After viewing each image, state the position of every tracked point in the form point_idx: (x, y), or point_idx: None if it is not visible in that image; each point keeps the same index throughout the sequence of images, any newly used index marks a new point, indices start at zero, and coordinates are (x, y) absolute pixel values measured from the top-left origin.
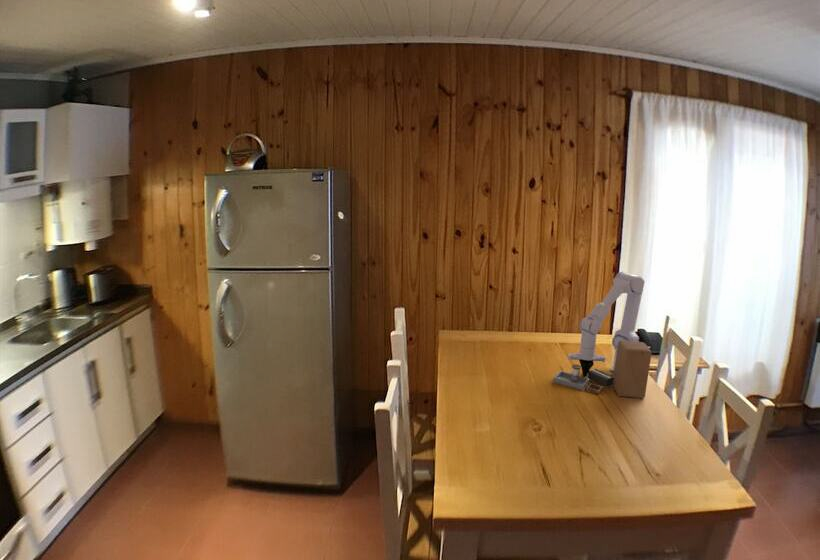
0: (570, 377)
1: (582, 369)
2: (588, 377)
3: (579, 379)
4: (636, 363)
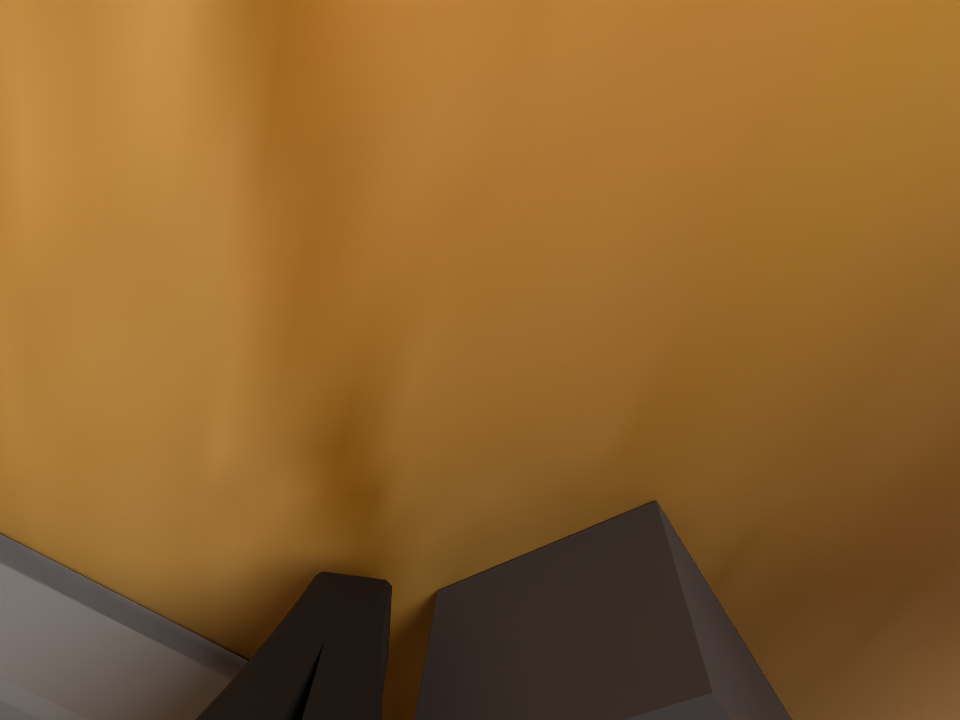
0: (53, 621)
1: (245, 711)
2: (442, 636)
3: None
4: None
